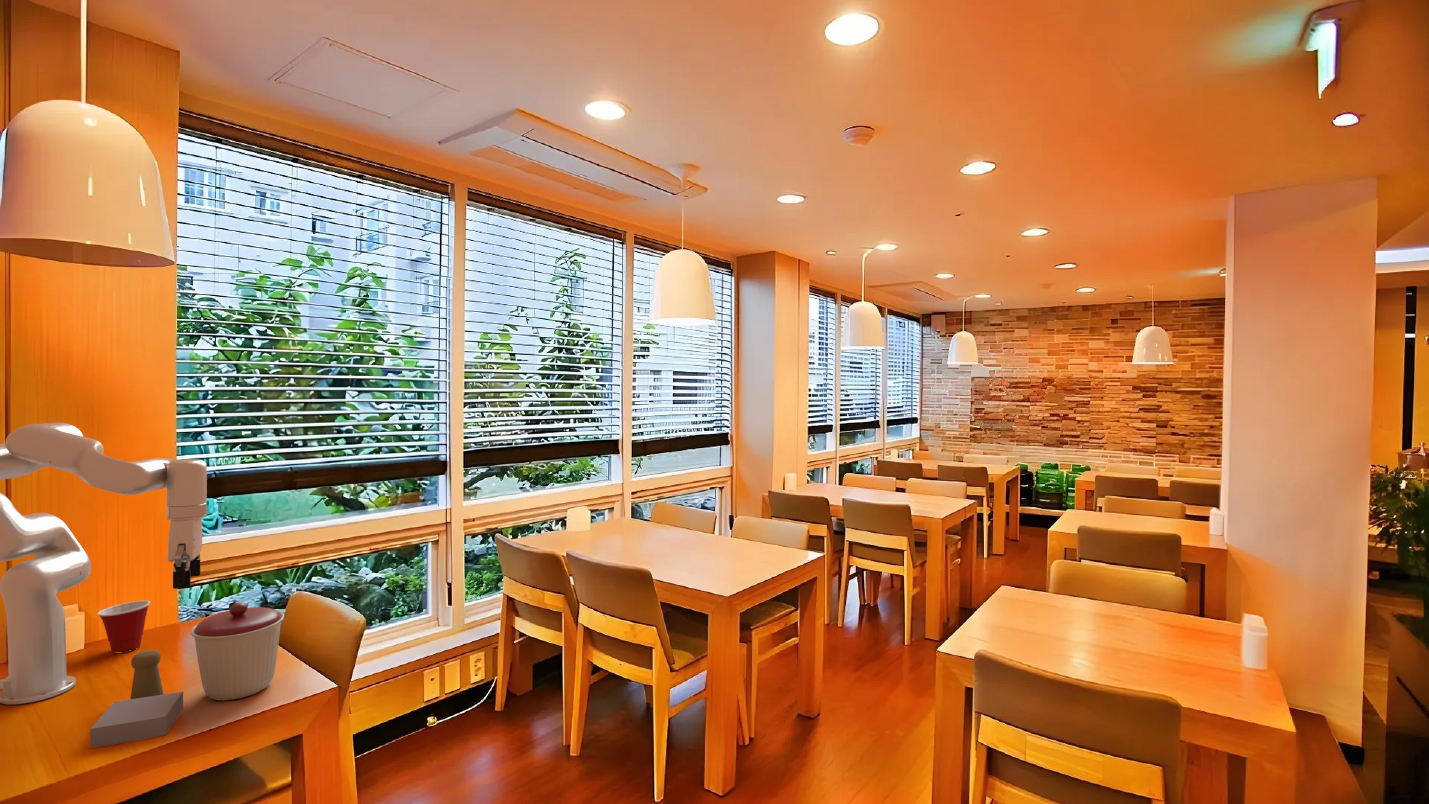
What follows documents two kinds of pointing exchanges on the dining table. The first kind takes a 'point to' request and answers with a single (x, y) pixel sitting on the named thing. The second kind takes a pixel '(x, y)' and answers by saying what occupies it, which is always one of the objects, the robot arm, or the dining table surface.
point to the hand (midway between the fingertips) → (187, 581)
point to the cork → (146, 675)
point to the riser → (137, 719)
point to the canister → (237, 650)
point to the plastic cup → (125, 624)
